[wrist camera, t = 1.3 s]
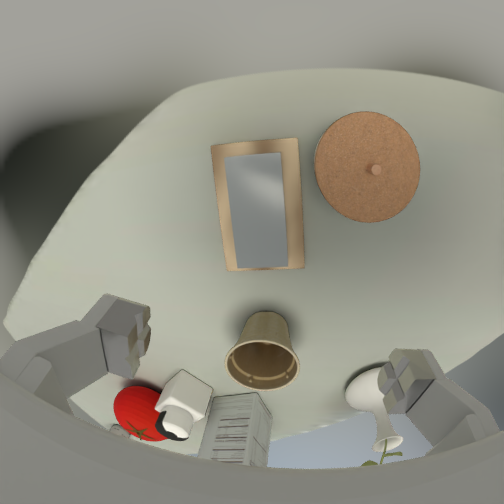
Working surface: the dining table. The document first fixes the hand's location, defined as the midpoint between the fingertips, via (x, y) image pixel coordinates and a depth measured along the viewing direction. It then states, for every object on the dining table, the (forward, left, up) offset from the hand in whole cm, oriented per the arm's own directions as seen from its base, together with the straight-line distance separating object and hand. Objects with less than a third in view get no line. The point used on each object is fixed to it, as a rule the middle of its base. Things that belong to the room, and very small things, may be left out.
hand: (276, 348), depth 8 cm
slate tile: (+3, +2, -26) cm, 26 cm away
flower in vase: (-14, +35, -27) cm, 46 cm away
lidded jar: (-8, -3, -27) cm, 29 cm away
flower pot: (+4, +20, -27) cm, 34 cm away
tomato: (+30, +41, -27) cm, 57 cm away
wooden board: (+3, +2, -27) cm, 27 cm away
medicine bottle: (+20, +35, -27) cm, 48 cm away
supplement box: (+10, +41, -27) cm, 50 cm away
